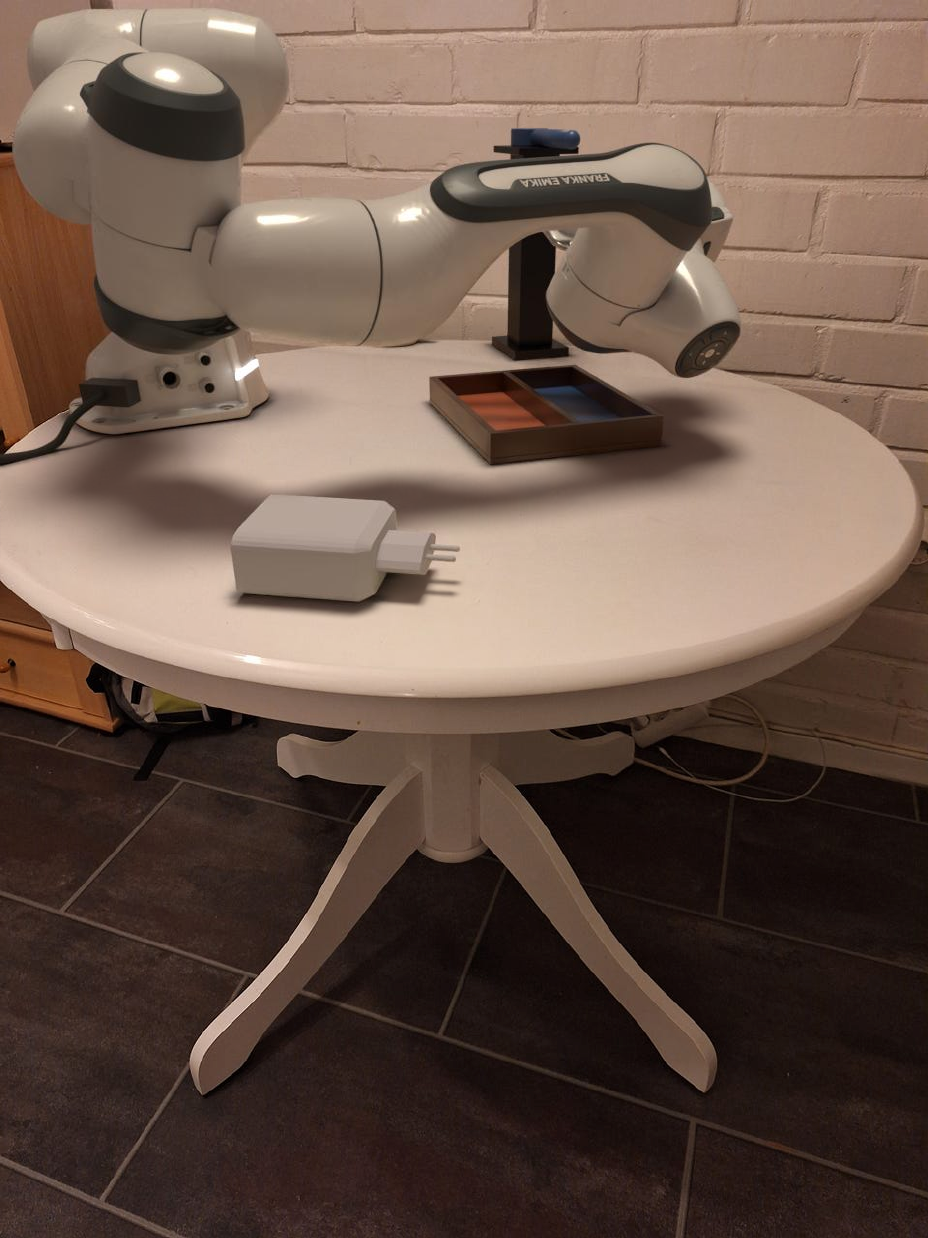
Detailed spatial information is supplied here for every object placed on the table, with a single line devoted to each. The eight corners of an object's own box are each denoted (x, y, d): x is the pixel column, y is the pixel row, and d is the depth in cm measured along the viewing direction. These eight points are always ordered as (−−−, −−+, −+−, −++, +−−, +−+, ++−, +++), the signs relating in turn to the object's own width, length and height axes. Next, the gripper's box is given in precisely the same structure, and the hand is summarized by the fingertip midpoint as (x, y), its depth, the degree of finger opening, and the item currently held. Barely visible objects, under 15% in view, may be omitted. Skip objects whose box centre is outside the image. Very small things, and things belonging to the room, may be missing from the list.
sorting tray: (661, 445, 93) (664, 415, 91) (490, 464, 88) (490, 433, 86) (574, 389, 112) (575, 364, 110) (429, 402, 107) (429, 376, 105)
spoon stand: (568, 355, 127) (579, 146, 114) (514, 360, 125) (519, 147, 112) (542, 341, 135) (549, 144, 123) (491, 344, 133) (493, 145, 121)
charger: (446, 615, 62) (236, 599, 64) (468, 557, 70) (281, 545, 72) (445, 551, 59) (228, 537, 62) (467, 499, 67) (274, 488, 70)
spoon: (593, 148, 107) (594, 129, 106) (555, 149, 106) (556, 130, 105) (539, 144, 122) (540, 127, 121) (505, 145, 121) (506, 128, 120)
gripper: (548, 277, 93) (510, 195, 100) (724, 267, 98) (677, 190, 105) (563, 222, 88) (521, 139, 95) (748, 215, 93) (696, 137, 100)
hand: (605, 166), depth 100 cm, fingers open, 8 cm apart
